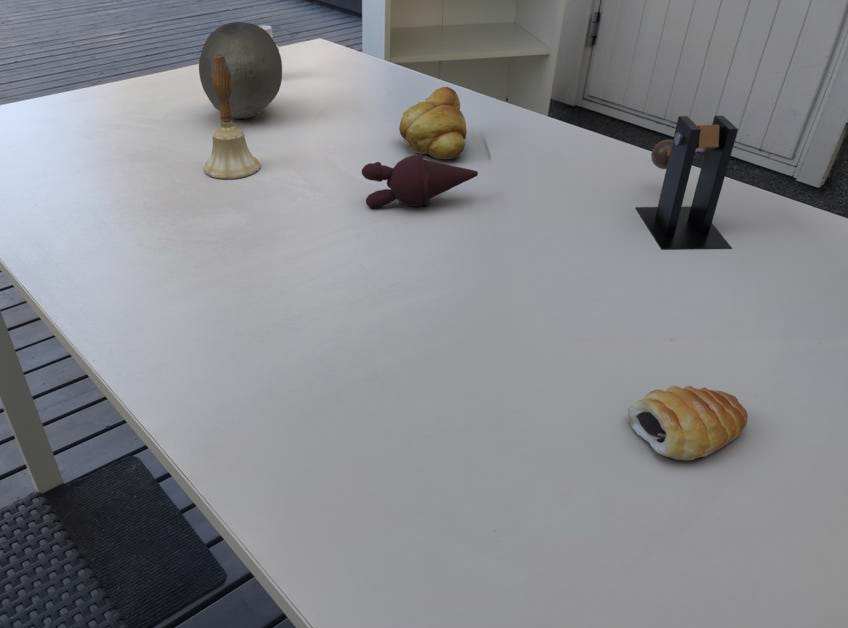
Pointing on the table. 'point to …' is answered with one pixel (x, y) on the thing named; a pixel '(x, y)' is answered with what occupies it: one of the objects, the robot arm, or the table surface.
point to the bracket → (695, 222)
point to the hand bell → (228, 133)
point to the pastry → (687, 421)
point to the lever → (705, 143)
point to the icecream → (413, 180)
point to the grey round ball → (243, 67)
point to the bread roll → (435, 125)
